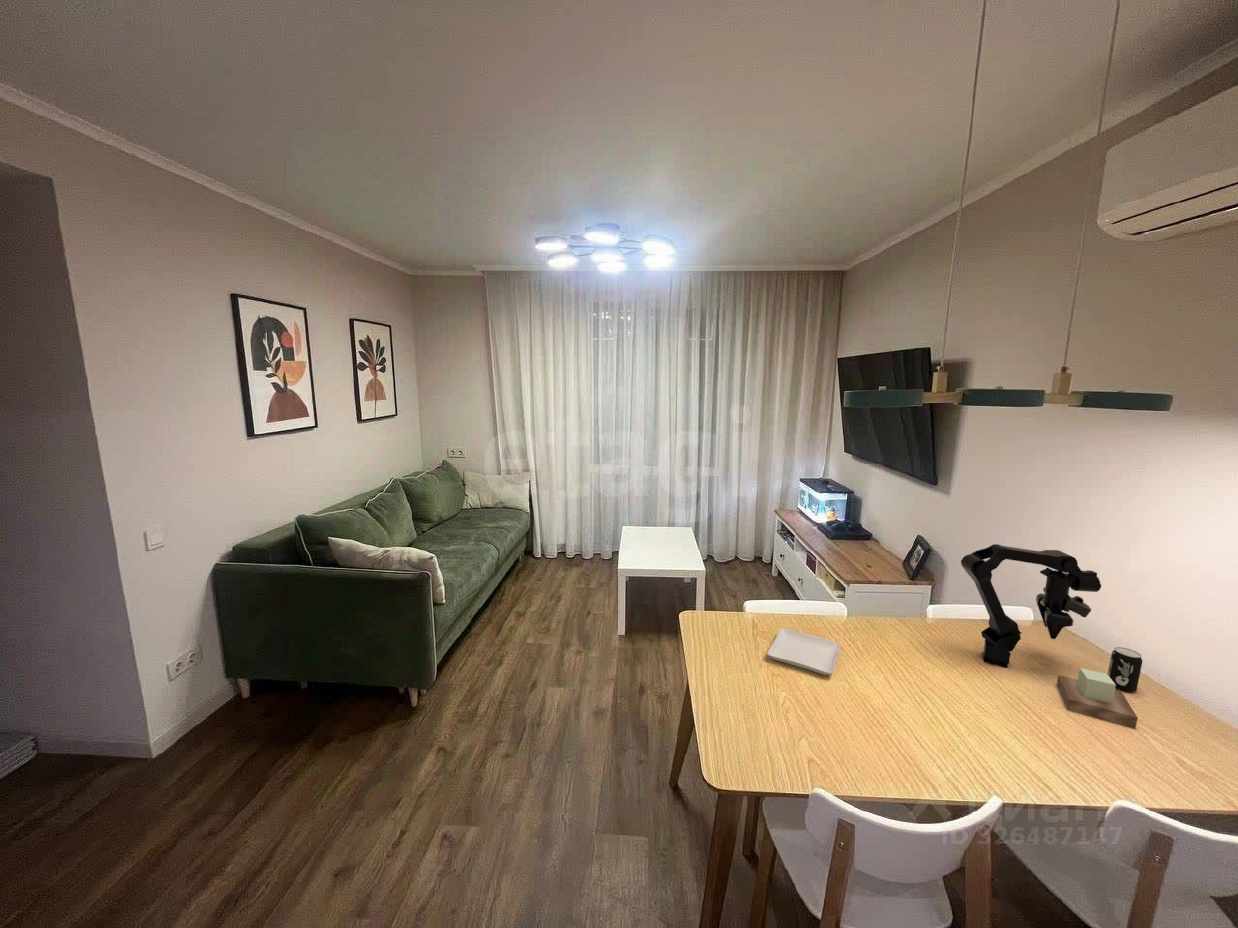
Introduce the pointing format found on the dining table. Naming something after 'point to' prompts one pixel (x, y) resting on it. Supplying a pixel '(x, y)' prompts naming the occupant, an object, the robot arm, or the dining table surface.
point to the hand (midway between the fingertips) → (1049, 632)
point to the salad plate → (805, 651)
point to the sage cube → (1096, 685)
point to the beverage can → (1125, 668)
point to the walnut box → (1096, 704)
